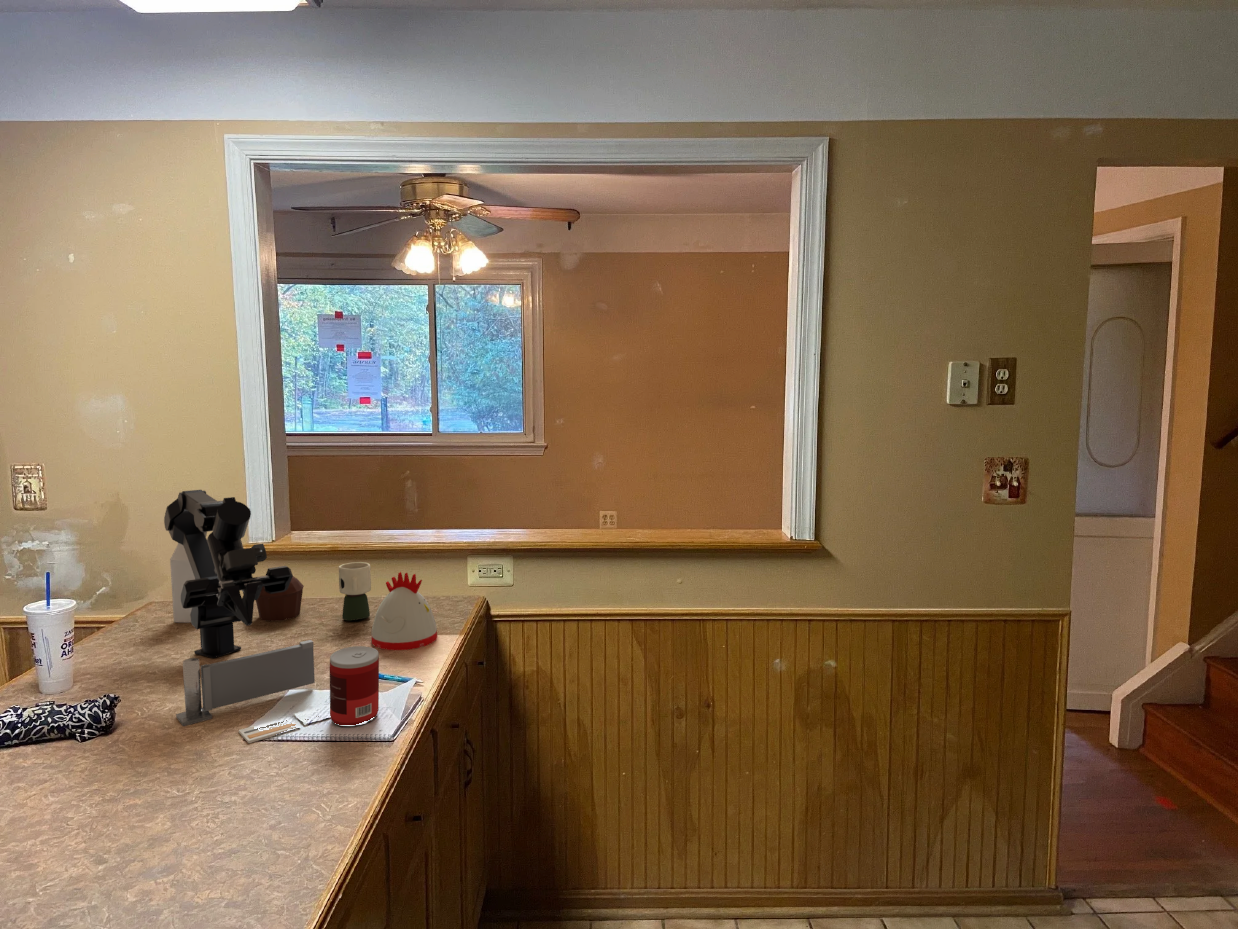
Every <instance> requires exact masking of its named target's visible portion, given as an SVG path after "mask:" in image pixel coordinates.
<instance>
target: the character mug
mask: <svg viewBox="0 0 1238 929" xmlns="http://www.w3.org/2000/svg"><path fill="white" fill-rule="evenodd" d="M371 569H372V567H371V564H370V563H368V562H362V561H360V562H359V561H356V562H355V561H353V562H348V563H343V564H341V565H338V587H339V588H338V589H339V593H341V594H344V597H343V604H342V614H341V615H342V617H341V618H342V620H344V621H355V622H357V621H358V620H363V619H366V618H370V616H371V615H370V614H371V612H370V606H369V604H370V603H369V599H368V595H367V593H369V592H370V591H371V590H372V578H371V576H372V574H371V572H372V571H371Z"/></svg>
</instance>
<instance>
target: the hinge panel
mask: <svg viewBox="0 0 1238 929" xmlns="http://www.w3.org/2000/svg"><path fill="white" fill-rule="evenodd" d="M314 652H315V651H314V641H313V640H312V639H308V640H303V641H299V644H295V645H291V646H287V647H281V648H276V649H272V650H267V651H264V652H260V653H259V652H258V653H254V654H251V655H246V656H240V657H236V658H231V659H227V660H221V661H218V662H213V663H208V664H207V663H205V664H202V665H200V684H201V702H202V707H203V709H204V710H205V711H209V712H210V711H212V710H214V709H218V708H222V707H226V706H230V705H234V704H239V703H242V702H245V701H249V700H254V699H257V698H261V697H265V696H268V695H273V694H277V693H281V692H284V691H289V690H293V689H296V688H300V687H304V686H308V685H312V684H315V680H316V679H315V660H314V659H315V658H314V656H315V655H314Z"/></svg>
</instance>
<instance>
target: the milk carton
mask: <svg viewBox="0 0 1238 929" xmlns="http://www.w3.org/2000/svg"><path fill="white" fill-rule="evenodd" d="M169 566H170V578H171V579H170V581H171V582H170V583H171V597H172V598H171V599H172V613H173V614H172V615H173V616H172V617H173V623H191V616H190V614H191V610H192V608H187V609H185V608H183V607H182V603H181V593H182V589H183V585H184V583H185V582H186V581H188V580H195V577H194V574H193V571H192V568H191V566H190V563H189V560H188V557H187V554H186V552H185V549H184V546H183V545H182V544H180V543H178V542H177V544H176V547H175V549H174V551H173V553H172V554H171V556H170V559H169Z"/></svg>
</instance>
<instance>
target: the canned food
mask: <svg viewBox="0 0 1238 929" xmlns="http://www.w3.org/2000/svg"><path fill="white" fill-rule="evenodd" d="M379 675H380V656H379V651H378V649H376V648H374V647H372V646H366V645H355V646H354V645H353V646H348V647H344V648H339V649H337V650H336V651H333V653H332V654H331V655H330V656H329V703H330V716H331V718H330V719H331V721H332V723H333V722H334V723H333V724H335V723H336V724H339V725H356V724H359V723H362V722H364V721H368V720H370V719H371V718H373V717H375V716H376V715H378V713H379V710H380V709H379V707H380V706H379V705H380V704H379V699H380V696H379V694H380V692H379V691H380V685H379V683H380V682H379V680H380V678H379V677H380V676H379ZM376 717H377V716H376ZM376 717H375V718H376ZM336 724H335V725H336ZM339 725H338V726H339Z"/></svg>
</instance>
